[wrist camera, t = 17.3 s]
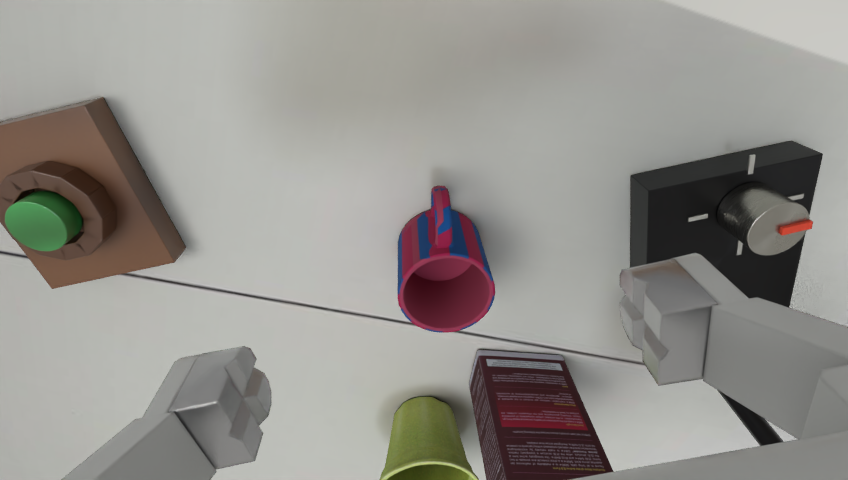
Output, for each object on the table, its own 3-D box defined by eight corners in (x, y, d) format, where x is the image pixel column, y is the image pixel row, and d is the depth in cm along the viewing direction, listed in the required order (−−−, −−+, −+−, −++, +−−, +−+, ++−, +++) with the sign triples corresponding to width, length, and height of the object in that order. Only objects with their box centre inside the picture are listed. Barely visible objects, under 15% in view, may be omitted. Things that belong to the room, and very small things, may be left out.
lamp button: (11, 196, 31) (-9, 208, 29) (62, 185, 30) (44, 196, 29) (45, 243, 32) (27, 256, 31) (93, 232, 32) (78, 245, 31)
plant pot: (365, 394, 46) (358, 476, 38) (458, 373, 45) (469, 453, 38) (392, 453, 51) (391, 536, 43) (477, 435, 50) (491, 517, 42)
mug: (396, 278, 39) (395, 332, 33) (401, 165, 34) (402, 205, 29) (474, 280, 40) (488, 334, 34) (491, 170, 35) (509, 210, 29)
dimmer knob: (715, 237, 35) (748, 264, 32) (718, 189, 33) (753, 213, 30) (770, 224, 35) (808, 250, 32) (776, 175, 33) (818, 198, 30)
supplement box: (467, 384, 46) (496, 560, 32) (476, 347, 44) (512, 519, 30) (551, 389, 47) (615, 562, 33) (565, 353, 45) (640, 523, 31)
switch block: (-34, 130, 32) (-87, 149, 28) (103, 96, 31) (65, 112, 28) (69, 273, 38) (36, 303, 34) (186, 247, 37) (164, 275, 34)
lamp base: (630, 161, 35) (650, 177, 32) (794, 126, 34) (828, 139, 32) (629, 315, 43) (645, 338, 40) (764, 289, 42) (790, 311, 39)
